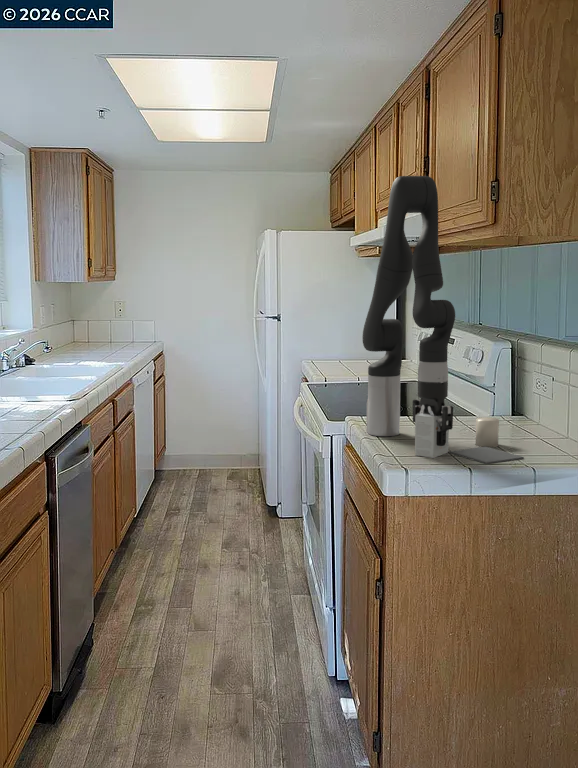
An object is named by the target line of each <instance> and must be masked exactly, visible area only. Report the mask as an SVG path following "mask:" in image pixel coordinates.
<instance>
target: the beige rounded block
mask: <svg viewBox="0 0 578 768" xmlns="http://www.w3.org/2000/svg"><path fill="white" fill-rule="evenodd" d="M499 432H500V419H499V418H496V417H477V418H476V419H475V444H474V445H475V446H476V447H489V448H497V447H498V446H499V437H500V435H499Z"/></svg>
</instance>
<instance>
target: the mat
mask: <svg viewBox="0 0 578 768" xmlns="http://www.w3.org/2000/svg"><path fill="white" fill-rule="evenodd" d="M449 453H450V454H452V455H456V456H459V457H463V458H466V459H469V460H472V461H475V462H479V463H481V462H482V463H481V464H485V465H487V464H495V463H502V462H510V461H515V460H516V461H517V460H524V456H522V455H517V454H514V453H510V452H507V451H503V450H501V449H495V448H494V447H480V446H477V447H472V448H465V449H456V450H449Z"/></svg>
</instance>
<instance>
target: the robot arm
mask: <svg viewBox="0 0 578 768" xmlns="http://www.w3.org/2000/svg"><path fill="white" fill-rule="evenodd" d="M438 195H439V194H438V188H437V184H436V182H435V180H434V179H433V178H432V177H431V176H428V175H401V176H398V177H396V178H395V179H394V180H393V182H392V185H391V189H390V192H389V198H388V206H387V215H386V217H387V218H386V226H385V232H384V238H383V243H382V247H381V251H380V256H379V259H378V263H377V264H378V265H377V270H376V275H375V284H374V288H373V293H372V296H371V297H372V298H371V301H370V303H369V304H370V305H369V307H368V312H367V314H366V318H365V322H364V325H363V330H362V344H363V348H364V349H365V351H368V352H372V353H373V352H374V353H375V352H385V354H384V356H383V357H382V358H380V359H379V360H378V361H375V362H373V363H371V364H369V365H368V369H367V373H368V374H367V382H368V383H367V400H366V432H367V434H368V435H370V436H376V437H394V436H398V435H400V430H401V428H400V427H401V424H400V422H401V368H402V364H403V347H404V329H403V324H402V322H401V321H400V320H399V319H397V318H385V315H386V313H387V311H388V309H389V308H390V307H391V306H392V304H393V303H394V302H395V301H396V300H397V299H398V298H399V297H400V296H401V295H402V294H403V292H404V291H405V290H406V289H407V287H408V286H409V284H410V281H411V277H412V273H413V281H414V295H413V303H412V319H413V321H414V323H415V324H416V326H418V327H419V328H421V329H433V331H432V333H431V335H430V336H427V337H424V338H422V339H421V340H420V341H419V344H418V345H419V349H418V351H419V353H418V355H419V356H418V358H419V359H418V369H417V397H418V399H413V400H412V423H415V415H418V414H422V413H426V414H430V415H431V416H434V417H436V416H441V415H442V419H437V420H436V422H437V430H438V431H437V446H444V445H445V443H446V431H447V430H449V431H450V430H452V429H453V425H454V424H453V422H454V421H453V419H454V407H453V405H446V403H445V400H446V398H448V395H449V393H448V391H449V366H448V353H449V352H448V350H449V349H448V347H449V342H450V339H451V335H452V331H453V328H454V325H455V320H456V310H455V307H454V305H453V303H452V302H451V301H449V300H448V299H432V296H431V295H432V294H433V292H437V291H439V290H441V289H442V288H443V286H444V278H443V272H442V266H441V259H440V250H439V249H440V247H439V197H438ZM407 214H420V215H421V220H422V226H421V231H420V235H419V238H418V240H417V242H416V245H415V247H414V249H413V251H412V249H411V246H410V243H409V241H408V239H407V237H406V233H405V221H406V215H407ZM447 421H448V425H447V424H446V422H447ZM440 423H442V426H441V425H440Z"/></svg>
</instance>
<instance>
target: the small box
mask: <svg viewBox="0 0 578 768" xmlns="http://www.w3.org/2000/svg"><path fill="white" fill-rule="evenodd" d="M437 419H442V415H441V416H436V417H434V416H431V415H430V414H426V413H422V414H419V413H417V415H415V422H414V423H415V424H414V425H415V427H414V456H417V457H418V456H419V457H422V458H423V457H425V458H430V459H434V458H438V457H440V456H442V455H445V454H448V453H449V440H450V439H449V436H450V435H449V432H450V430H447V431H446V443H445V445H444V446H437V431H438V430H437V422H436V420H437ZM446 424H447V425H448V421H447V422H446ZM440 425H441V426H442V423H440Z"/></svg>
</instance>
